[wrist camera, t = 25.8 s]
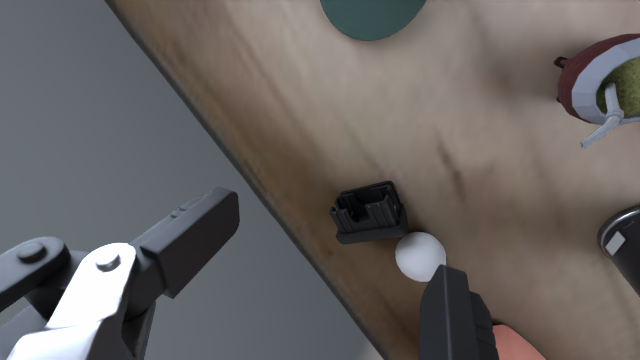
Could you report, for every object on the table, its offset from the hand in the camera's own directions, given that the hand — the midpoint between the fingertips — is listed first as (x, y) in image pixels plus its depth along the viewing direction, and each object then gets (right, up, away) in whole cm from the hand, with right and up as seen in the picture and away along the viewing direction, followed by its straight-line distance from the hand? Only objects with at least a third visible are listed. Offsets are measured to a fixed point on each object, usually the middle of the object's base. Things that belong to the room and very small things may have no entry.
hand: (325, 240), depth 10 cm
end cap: (+8, -2, +32) cm, 34 cm away
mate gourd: (+26, +13, +16) cm, 33 cm away
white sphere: (+17, -9, +33) cm, 38 cm away
